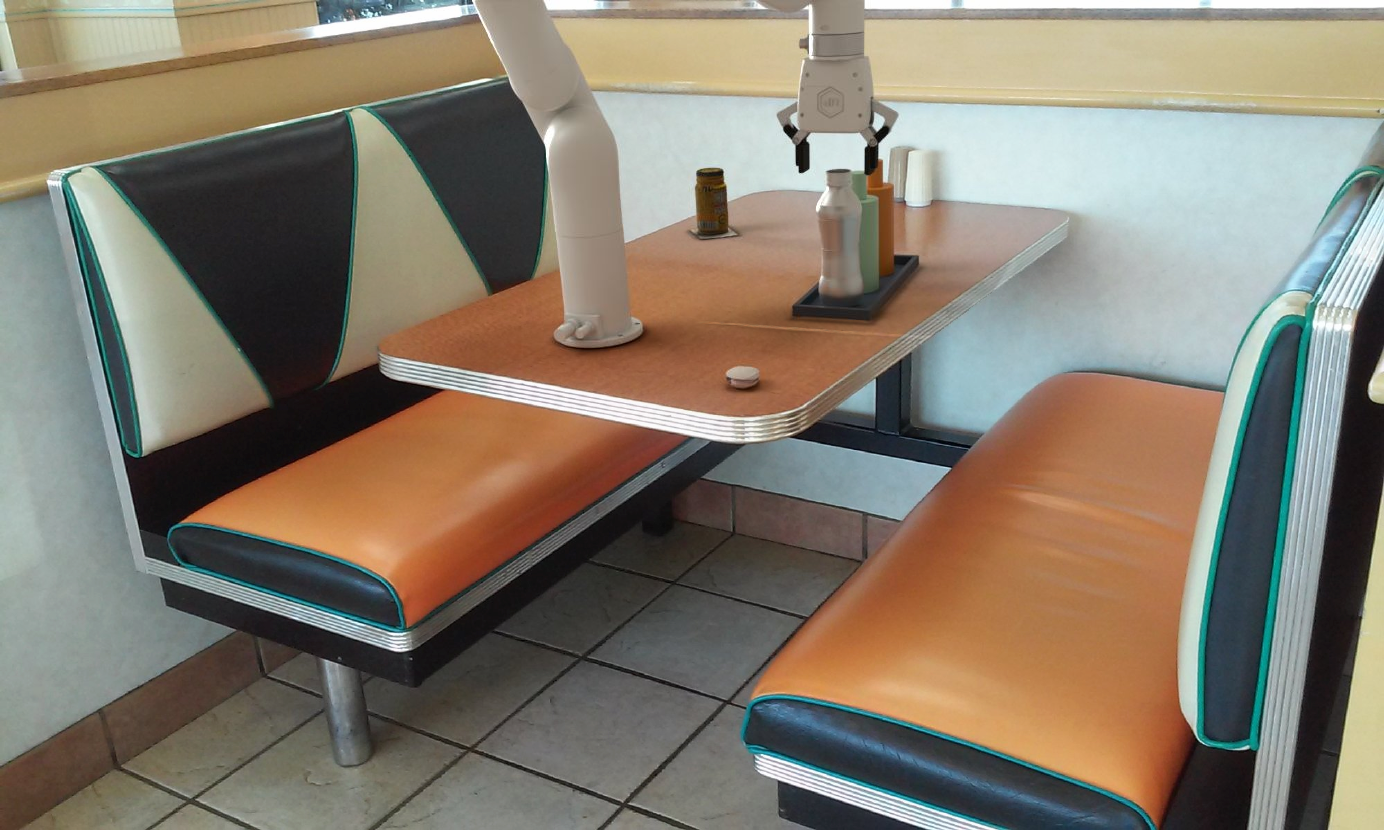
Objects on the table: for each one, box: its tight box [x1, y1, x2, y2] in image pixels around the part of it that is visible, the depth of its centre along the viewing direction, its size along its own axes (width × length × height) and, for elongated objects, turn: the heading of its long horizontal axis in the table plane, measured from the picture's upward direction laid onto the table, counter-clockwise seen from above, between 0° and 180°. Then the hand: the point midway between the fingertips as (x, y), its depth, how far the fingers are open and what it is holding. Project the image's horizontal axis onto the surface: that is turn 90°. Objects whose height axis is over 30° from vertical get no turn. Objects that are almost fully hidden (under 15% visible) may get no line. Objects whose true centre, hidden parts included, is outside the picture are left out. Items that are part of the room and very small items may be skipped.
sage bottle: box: [850, 170, 879, 293], centre depth 178 cm, size 6×6×18 cm
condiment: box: [690, 167, 738, 240], centre depth 222 cm, size 7×8×12 cm
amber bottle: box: [867, 158, 895, 277], centre depth 186 cm, size 6×6×18 cm
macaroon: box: [725, 365, 760, 389], centre depth 147 cm, size 4×5×2 cm
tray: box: [791, 253, 920, 322], centre depth 182 cm, size 31×12×2 cm, turn 157°
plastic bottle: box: [815, 168, 864, 307], centre depth 170 cm, size 6×7×20 cm
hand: (836, 172), depth 166 cm, fingers open, 9 cm apart
